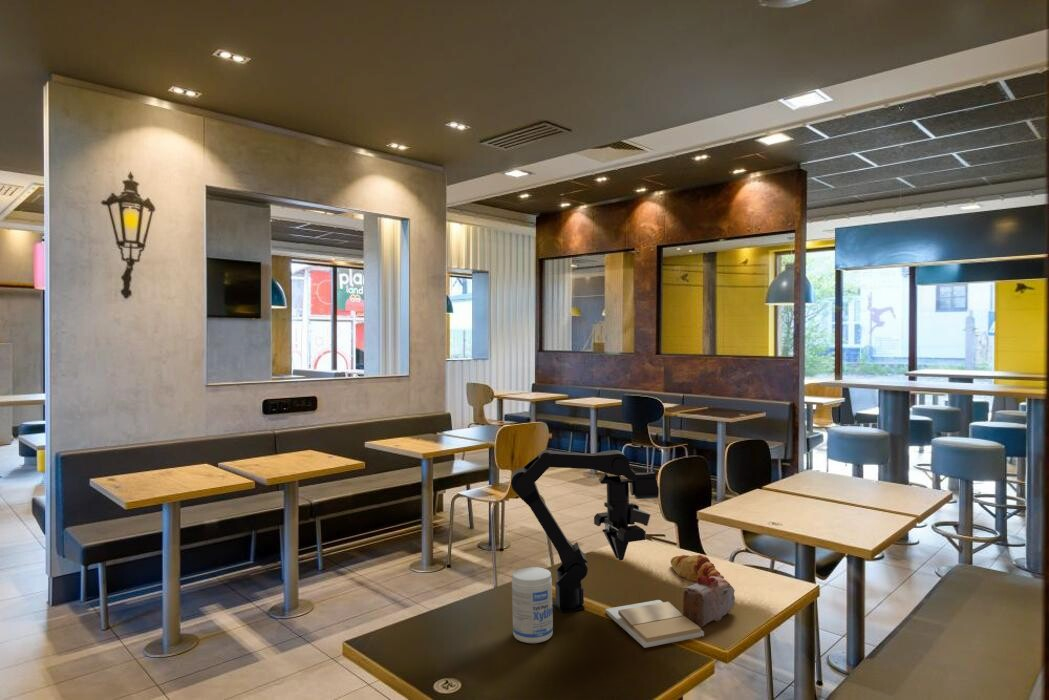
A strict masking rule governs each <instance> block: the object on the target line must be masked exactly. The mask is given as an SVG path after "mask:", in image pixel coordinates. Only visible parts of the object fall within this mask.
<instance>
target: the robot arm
mask: <svg viewBox="0 0 1049 700" xmlns="http://www.w3.org/2000/svg"><path fill="white" fill-rule="evenodd" d="M628 458H629V457H627V456H626V455H625V454H624V452H622V451H620V450H616V449H612V450H605V451H604V450H603V451H600V452H595V453H587V452H569V451H554V450H553V451H552V450H541V452H540V453H539V454H538V455H537V456H535V457H534V458H533V459H531V460H530V461H529V462H528V463H526V464H525V465H524V466H523V467H517V468H516V469H515V470H514V471H513V472H512V473H511V478H510V479H511V480H510V482H511V483H510V486H511V488H512V491H513V492H514V493H515V494H516V495H517V496H518V497H519V498H520V500H522V501H523V502H524V503H525V504H526V505H527V506H528V507H529V508H530V510H531V512H532V513H533V514H534V516H535V518H536V520H537V521H538V522H539V524H540V526H541V527H542V529H543V531H544V532H545V534H546V535H547V537H548V539H549V541H550V542H551V543H552V545H553V547H554V548H555V550H556V551H557V554H558V557H559V560H560V562H561V564H560V565H559V567H557V568H556V570H555V573H556V578H557V581H556V582H554V584H555V585H554V586H555V587H554V588H555V601H552V605H554V606H555V607H556V608H557V609H558V611H559V612H561V613H569V612H574V611H580V610H585V609H586V607H585V605H584V603H585V601H584V600H585V596H584V595H585V594H584V587H582V586H583V585H582V580H584V579H585V578H586V577H587V575H588V571H589V568H588V565H587V564H588V560H587V556H586V553H584V552H583V551H582V549H581V548H580V545H579V543H578V542H577V541H576V542H575V543H574V544H573V543H572V542H570V541H569V539H568V538H567V536H566V535H565V533H564V531H563V530H562V528H561V527H560V526H559V524H558V522H557V521H556V519H555V518H554V516H553V514H552V512H551V510H550V509H549V508H548V506H547V505H546V503H545V501H544V500H543V498H542V497H541V494H540V491H539V488H538V486H537V483H536V482H537V481H538V480H540V478H541V476H543V474H544V473H545V472H546V471H547V470H548V469H549V468H559V469H561V468H562V469H576V470H577V469H581V470H593V471H598V472H602V473H603V475H602V476H601V477H599V478H598V481H599V483H600V484H601V485H606V501H605V502H604V503H603V506H604V508H606V511H605V512H598V513H596V514H595V515H594V517H593V524H594V525H595V526H597V527H600V526H601V525H602V524H603V525H604V529H601V530H602V533H603V534H604V536H605V538H606V540H607V542H608V544H609V546H610V548H611V549H612V553H613V554H614V557H615V558H616V559H618V561H623V560H624V558H625V556H626V551H627V548H628V545H629V543H633V542H642V541H645V540H646V539H647V531H646V530H644V528H642V527H640V526H639V525H636V523H637V524H641V525H643V526H646V527H648V526H649V521H650V518H651V514H650V513H648V512H646V511H645V510H641V509H640V507H639V505H637V504H635V503H632V502H631V503H630V495H631V496H634V499H636V500H645V499H646V500H648V499H652V500H653V499H654V500H655V499H659V494H660V490H659V489H660V487H659V484H658V480H657V473H656V472H655V471H648V472H637V473H636V472H635V471H634V470H633V468H631V467H630V460H629V459H628ZM608 474H609V475H608ZM620 476H623V477H625V478H621V477H620Z"/></svg>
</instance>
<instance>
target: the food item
mask: <svg viewBox="0 0 1049 700" xmlns="http://www.w3.org/2000/svg"><path fill="white" fill-rule="evenodd" d="M697 580H698V582H696V583H694V584H692V585H689V586H687V587H685V588H683V595H682V596H683V597H682V598H683V600H682V601H683V602H682V611H683V612H682V613H683V615H684V616H685V617H686V618H688V619H689V620H691V621H692V622H693V623H695V624H696V625H698V626H699V627H701V626H702V627H701V628H703V627H705V626H706V625H707V624H709V623H711V622H712V621H716V622H719V620H720V621H721V620H722V618H723V617H724V616H726V615H727V613H730V612H731V610H733V609H734V607H735V605H736V603H735V601H736V598H735V597H736V596H735V591H736V589H734V587H733V586H732V584H731V583H730V582H729V581H727V579H725V578H724V579H723V578H721V577H716V576H710V577H709V576H708V577H706V576H703V577H702V576H700V577H699V578H697Z"/></svg>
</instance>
